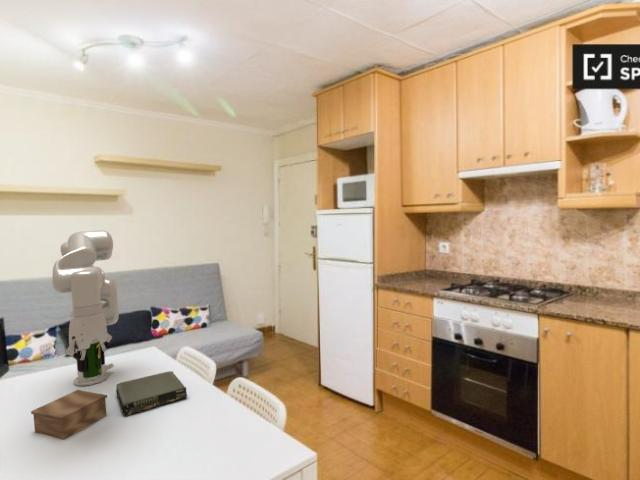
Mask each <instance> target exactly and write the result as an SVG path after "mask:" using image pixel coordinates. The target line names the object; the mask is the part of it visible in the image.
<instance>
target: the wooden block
mask: <svg viewBox="0 0 640 480" xmlns="http://www.w3.org/2000/svg"><path fill="white" fill-rule="evenodd" d="M106 398H108V394H103V393H97V392H92V391H86V390H82V389H81V390H80V389H76V390H75V391H73V392H70V393H68V394H65V395H64V396H61V397H59V398H57V399H55V400H52V401H51V402H48V403H46V404H44V405H41V406H40V407H37V408H35V409H33V410H31V411H30V414H31V415H32V416H33V426H34V433H37V434H41V435H45V436H49V437H53V438H58V439H61V440H65V439H67V438H68V437H70V436H72V435H74V434H76V433H78V432H79V431H81V430H83V429H85V428H86V427H88V426H90V425H92V424H94V423H95V422H97V421H100V420H101V419H103V418H104V417H106V416H107V415H108V413H107V404H106V403H107V402H106Z"/></svg>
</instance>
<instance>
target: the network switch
mask: <svg viewBox="0 0 640 480" xmlns="http://www.w3.org/2000/svg"><path fill="white" fill-rule="evenodd" d="M115 392H116V397H117V399H118V403H119V406H120V409H121V411H122V415H124V417H128V416H131V415H132V414H134V413H140V412H141V411H145V410H151V409H153V408H157V407H159V406H160V407H162V406H163V405H166V404H169V403H172V402H176V401H179V400H183V399H184V400H186V399H187V387H186V386H185V385H184V383H183V382H182V381H181V380H180V379H179V378H178V377H177V375H176V374H175V373H174V371H173V370H172V371H169V370H168V371H164V372H160V373H156V374H155V373H154V374H152V375H147V376H142V377H139V378H138V377H137V378H134V379H130V380H127V381H122V382H119V383H117V384H116V390H115Z"/></svg>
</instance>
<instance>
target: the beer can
mask: <svg viewBox="0 0 640 480" xmlns="http://www.w3.org/2000/svg"><path fill="white" fill-rule="evenodd" d="M97 339H98V338H97ZM97 339H95V340H92V341H93V342H92V343H91V344H90V348H88V349H86V354H85V358H84V359H86V360H87V372H86V373H84V372H82V377H83V378H84V379H85V380H91V379H95V378H98V377H100V376H101V374H102V362H101V349H100V341H99V340H97ZM80 353H81V352H80Z"/></svg>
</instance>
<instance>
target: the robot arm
mask: <svg viewBox="0 0 640 480" xmlns="http://www.w3.org/2000/svg"><path fill="white" fill-rule="evenodd" d="M113 250H114V240H113V237H112V235H111V234H110V232H108V231H107V230H86V231H82V230H81V231H77V232H74V233H72V234H70V236H68V239H67V242H64V243H62V244H61V245H60V253H61V257H60V258H58V259H57V260H56V261H55V263H54V264H53V267H52V278H51V279H52V286H53V289H54V290H55V291H56V292H57V293H60V294H67V293H71V303H72V304H71V305H72V310H71V312H70V315H69V316H70V320H69V326H68V327H69V328H68V344H69V345H68V346H67V349H66V350H65V354H66V355H68V356H70V357H72V358H74V360H76V361H75V362H76V370H77V371H76V373H77V377H76V378H74V380H73V384H74V385H75V386H78V387H86V386H92V385H96V384H99V383H101V382H103V381H106V380H107V379H108V378H109V373H108V372H107V371H108V370H110V369H113V368H114V363H109V364H106V359H105V357H106V356H105V355H106V354H105V352H106V351H107V348H108V346H109V343H111V342H110V341H111V340H112V339H113V336H112V335H111V334H110V333H108V326H111V325H115V324H116V323H117V322H118V320H119V314H120V313H119V312H120V311H119V302H118V290H117V284H116V281H115V280H114V279H113V277H112V278H111V277H106V276H105V274H106V273H105V271H104V270H103V269H102V268H101V267H99V266H94V264H95V263H96V262H98V261H106V260H109V259H110V258H112V255H113ZM97 338H98V339H97ZM95 339H97V340H99V341H100V349H101V362H102V374H101V376H100V377H98V378H95V379H91V380H85V379H84V378H83V377H82V372H84V373H86V372H87V360H86V359H84V358H85V354H86V349H88V348H90V344H91V343H92V342H93V341H92V340H95ZM80 352H81V353H80Z"/></svg>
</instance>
